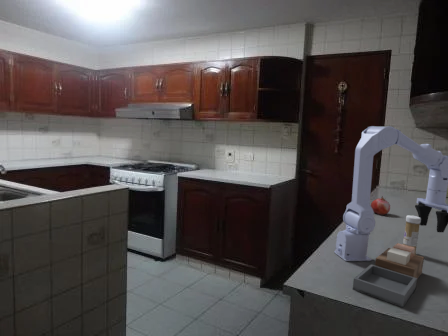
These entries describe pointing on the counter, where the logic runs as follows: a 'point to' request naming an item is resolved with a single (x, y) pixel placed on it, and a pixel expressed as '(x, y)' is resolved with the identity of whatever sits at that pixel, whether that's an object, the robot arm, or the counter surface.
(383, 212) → the fruit
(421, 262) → the walnut board
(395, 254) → the cream tile
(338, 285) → the counter surface
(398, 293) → the box
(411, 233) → the sprinkles bottle
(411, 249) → the terracotta tile
